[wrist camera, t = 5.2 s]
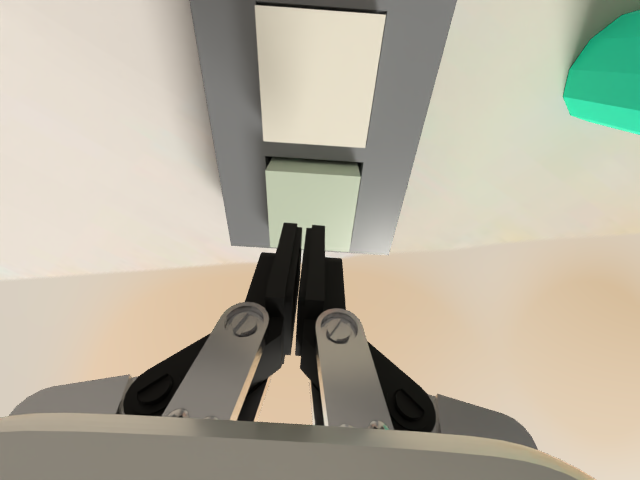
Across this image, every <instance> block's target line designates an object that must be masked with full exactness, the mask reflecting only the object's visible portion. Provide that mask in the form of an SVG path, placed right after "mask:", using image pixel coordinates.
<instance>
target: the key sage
mask: <svg viewBox="0 0 640 480" xmlns="http://www.w3.org/2000/svg"><path fill="white" fill-rule="evenodd" d="M265 174H266V190H267V206H268V221H269V237H270V247H275V248H277V247H278V243H279V239H280V235H281V231H282V228H283V224H284V222H285V223H297V227H302V245H301V249H304V244H305V236H306V228H312V225H322V226H325V251H341V252H349V250H350V243H351V237H352V230H353V224H354V217H355V211H356V204H357V198H358V192H359V185H360V179H361V176H360V172H359V168H358V165H357V162H350V161H335V160H319V159H304V158H289V157H274V156H273V157H272V159H271V161H270V163H269V165H268V166H267V168H266V170H265Z"/></svg>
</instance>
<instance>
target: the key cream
mask: <svg viewBox="0 0 640 480" xmlns="http://www.w3.org/2000/svg"><path fill="white" fill-rule="evenodd" d="M255 18H256V34H257V50H258V65H259V81H260V96H261V112H262V128H263V141H267V142H282V143H297V144H312V145H327V146H342V147H357V148H365V146H366V140H367V134H368V127H369V121H370V114H371V108H372V101H373V95H374V88H375V82H376V76H377V69H378V63H379V56H380V50H381V43H382V37H383V31H384V24H385V18H386V15H383V14H369V13H356V12H342V11H329V10H315V9H302V8H288V7H275V6H261V5H255Z"/></svg>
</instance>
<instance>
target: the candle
mask: <svg viewBox="0 0 640 480" xmlns="http://www.w3.org/2000/svg"><path fill="white" fill-rule="evenodd" d="M563 98H564V101H565V103H566V105H567V108H568V110H569V113H570V115H571V116H574V117H577V118H580V119H583V120H586V121H588V122H592V123H596V124H600V125H604V126H607V127H611V128H615V129H619V130H623V131H627V132H631V133H634V134H638V135H640V10H637V11H634V12H630V13H627V14H624V15H621V16H620V17H619V18H617V19H616V20H615V21H613V22H612V23H611V24H610V25H608V26H607V27H606V28H604V29H603V30H602V31H600V32H599V33H598V34H597V35H595V36H594V37H593V38H591V39H590V41H589V42H588V43H587V45H586V46H585V48H584V49H583V51H582V52H581V54H580V55H579V56H578V58H577V59H576V61H575V62H574V64H573V65H572V66H571V68H570V69H569V73H568V77H567V82H566V86H565V90H564V94H563Z"/></svg>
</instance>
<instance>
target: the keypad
mask: <svg viewBox="0 0 640 480" xmlns="http://www.w3.org/2000/svg"><path fill="white" fill-rule="evenodd" d="M189 1H190V6H191V12H192V18H193V24H194V30H195V36H196V42H197V48H198V53H199V59H200V65H201V71H202V77H203V83H204V89H205V94H206V100H207V106H208V112H209V118H210V124H211V130H212V136H213V141H214V147H215V153H216V159H217V165H218V171H219V177H220V182H221V188H222V194H223V200H224V206H225V212H226V218H227V224H228V229H229V235H230V241H231V246H246V247H262V248H275V247H270V237H269V221H268V206H267V190H266V174H265V170H266V168H267V166H268V165H269V163H270V161H271V159H272V157H273V156H274V157H289V158H304V159H319V160H335V161H350V162H357V165H358V168H359V172H360V176H361V179H360V185H359V192H358V198H357V204H356V211H355V217H354V224H353V230H352V237H351V243H350V250H349V252H345V253H361V254H377V255H389V252H390V248H391V245H392V241H393V237H394V233H395V230H396V226H397V222H398V218H399V215H400V211H401V207H402V203H403V200H404V196H405V192H406V189H407V185H408V181H409V177H410V174H411V170H412V166H413V162H414V159H415V155H416V151H417V147H418V144H419V140H420V136H421V133H422V129H423V125H424V121H425V118H426V114H427V110H428V106H429V103H430V99H431V95H432V91H433V88H434V84H435V80H436V77H437V73H438V69H439V65H440V62H441V58H442V54H443V50H444V47H445V43H446V39H447V35H448V32H449V28H450V24H451V21H452V17H453V13H454V9H455V6H456V2H457V0H189ZM255 5H261V6H275V7H288V8H302V9H315V10H329V11H342V12H356V13H369V14H383V15H386V18H385V24H384V31H383V37H382V43H381V50H380V56H379V63H378V69H377V76H376V82H375V88H374V95H373V101H372V108H371V114H370V121H369V127H368V134H367V140H366V146H365V148H357V147H342V146H327V145H312V144H297V143H282V142H267V141H263V128H262V112H261V96H260V81H259V65H258V50H257V34H256V18H255ZM301 250H304V249H301ZM328 252H341V251H328Z"/></svg>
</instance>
